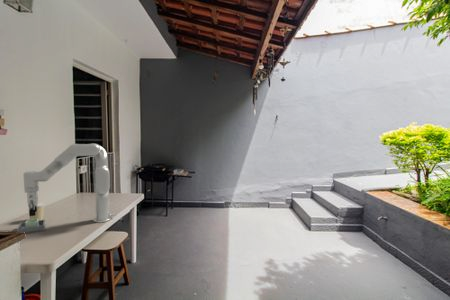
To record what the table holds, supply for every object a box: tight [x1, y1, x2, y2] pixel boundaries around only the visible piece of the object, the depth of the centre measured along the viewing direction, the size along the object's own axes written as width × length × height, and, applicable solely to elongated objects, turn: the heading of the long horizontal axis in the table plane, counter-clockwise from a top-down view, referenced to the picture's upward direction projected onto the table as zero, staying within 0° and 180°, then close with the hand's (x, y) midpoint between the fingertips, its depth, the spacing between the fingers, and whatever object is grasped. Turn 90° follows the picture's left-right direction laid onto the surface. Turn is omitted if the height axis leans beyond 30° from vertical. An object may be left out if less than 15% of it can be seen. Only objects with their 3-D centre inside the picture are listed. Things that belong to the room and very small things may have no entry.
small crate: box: [25, 219, 38, 228], centre depth 163 cm, size 6×6×5 cm
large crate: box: [16, 219, 46, 234], centre depth 163 cm, size 14×14×4 cm
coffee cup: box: [29, 202, 45, 220], centre depth 180 cm, size 9×9×12 cm
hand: (33, 213), depth 163 cm, fingers open, 9 cm apart
